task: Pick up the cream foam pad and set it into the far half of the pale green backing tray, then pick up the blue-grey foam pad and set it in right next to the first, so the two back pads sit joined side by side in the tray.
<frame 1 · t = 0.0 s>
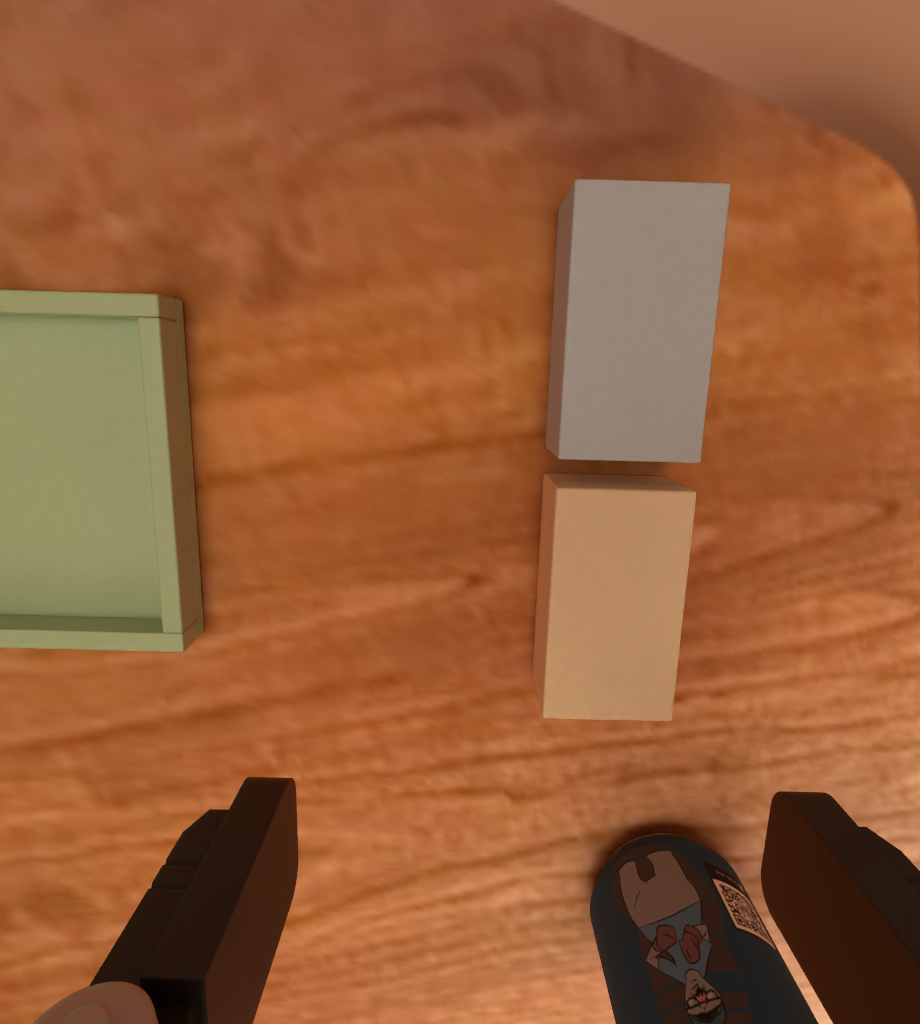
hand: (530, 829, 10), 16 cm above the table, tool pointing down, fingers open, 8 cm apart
blue-grey pad: (615, 334, 24), on the table
cream pad: (596, 579, 26), on the table
soda can: (656, 880, 30), on the table
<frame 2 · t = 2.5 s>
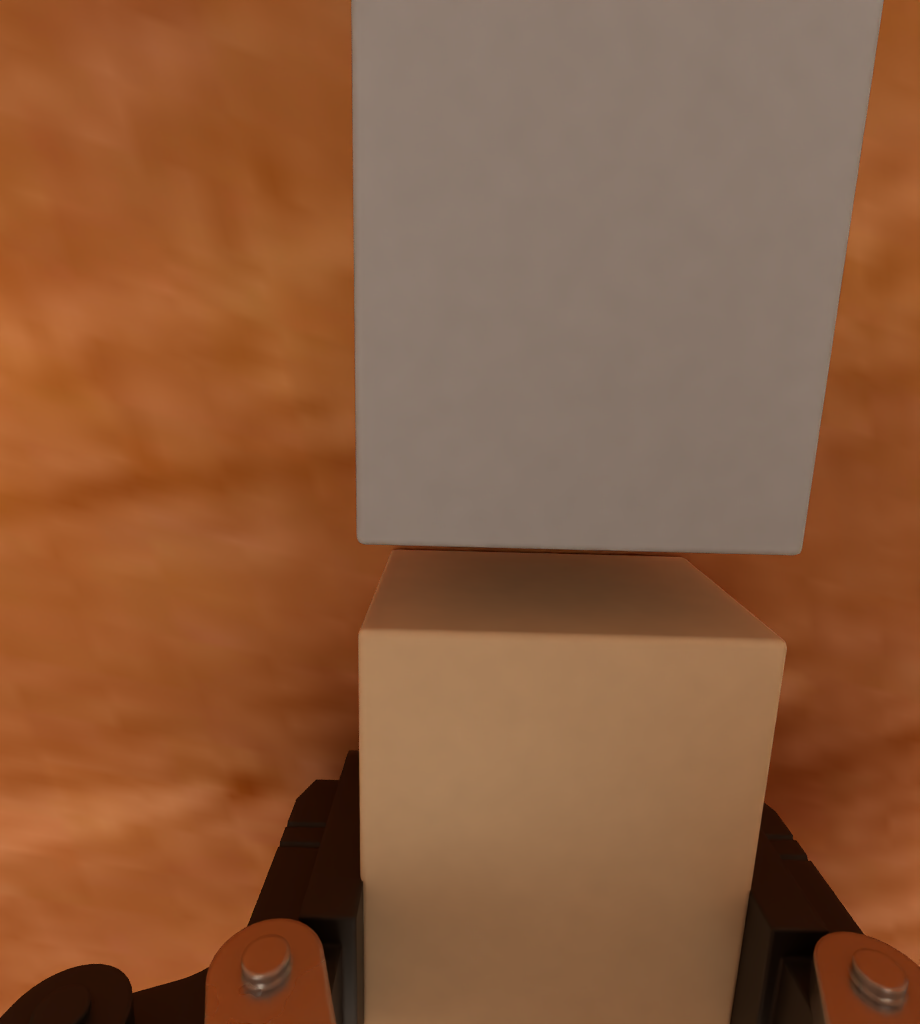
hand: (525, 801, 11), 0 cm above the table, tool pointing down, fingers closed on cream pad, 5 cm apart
blue-grey pad: (556, 199, 9), on the table
cream pad: (525, 785, 12), on the table, touching gripper
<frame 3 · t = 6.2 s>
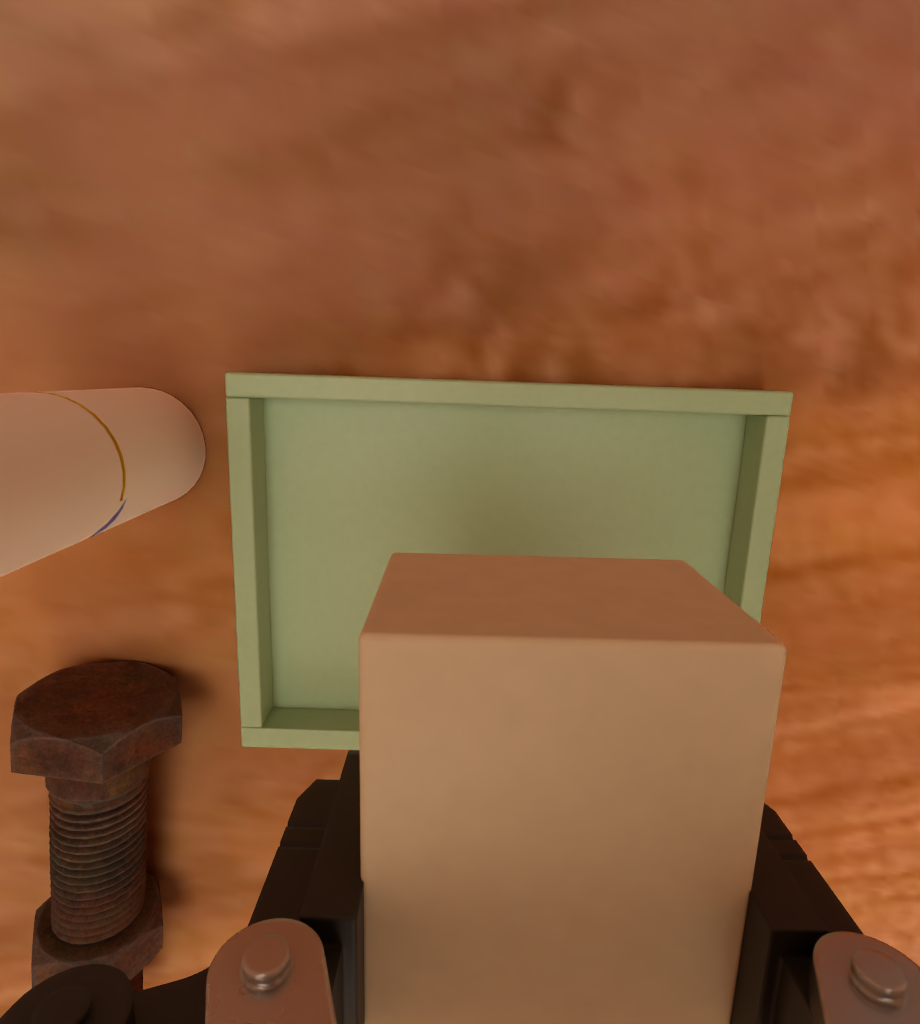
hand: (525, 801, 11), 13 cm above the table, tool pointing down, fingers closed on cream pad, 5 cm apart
bolt: (130, 820, 27), on the table
cream pad: (525, 788, 12), point 13 cm above the table, touching gripper
backing tray: (496, 563, 24), on the table
tube: (149, 446, 23), on the table
when the fingers open (1 cm above the table, at t = 9.7 s): cream pad stays where it is, resting on backing tray.
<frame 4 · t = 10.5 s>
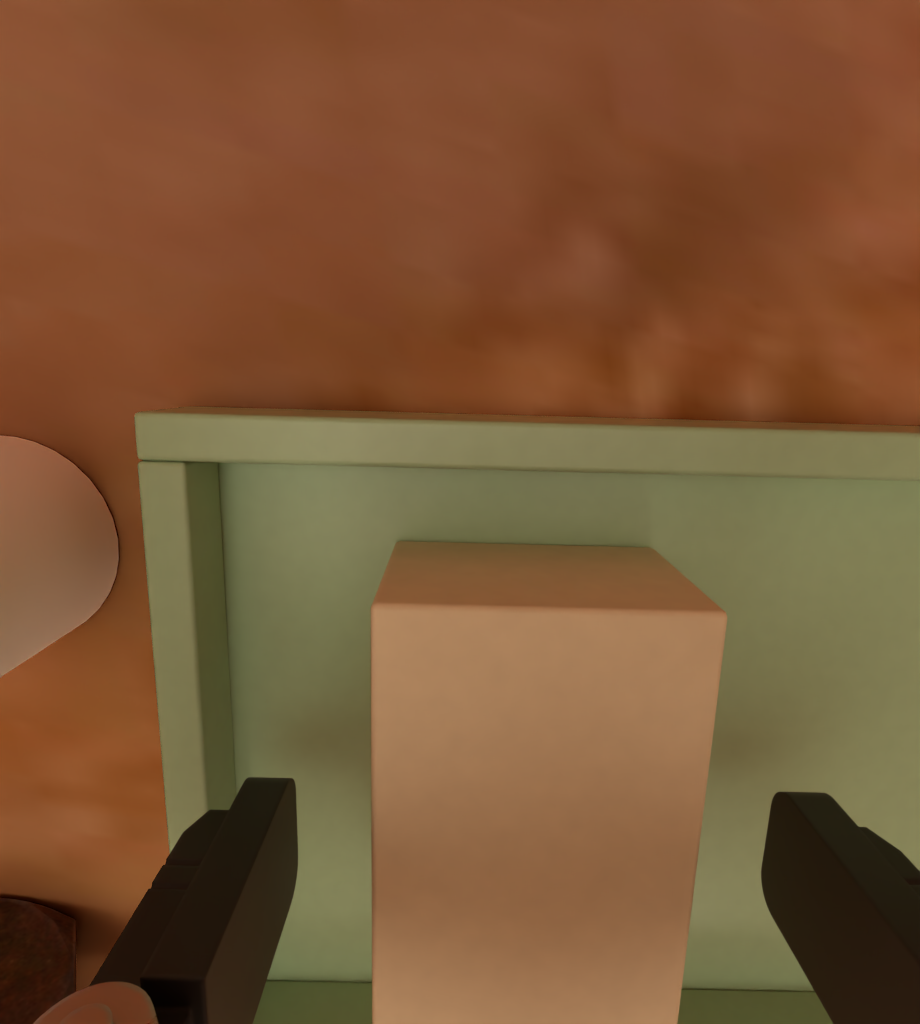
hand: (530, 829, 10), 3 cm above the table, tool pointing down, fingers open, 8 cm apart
cream pad: (514, 752, 13), point 1 cm above the table, touching backing tray
backing tray: (636, 734, 14), on the table
tube: (19, 538, 13), on the table
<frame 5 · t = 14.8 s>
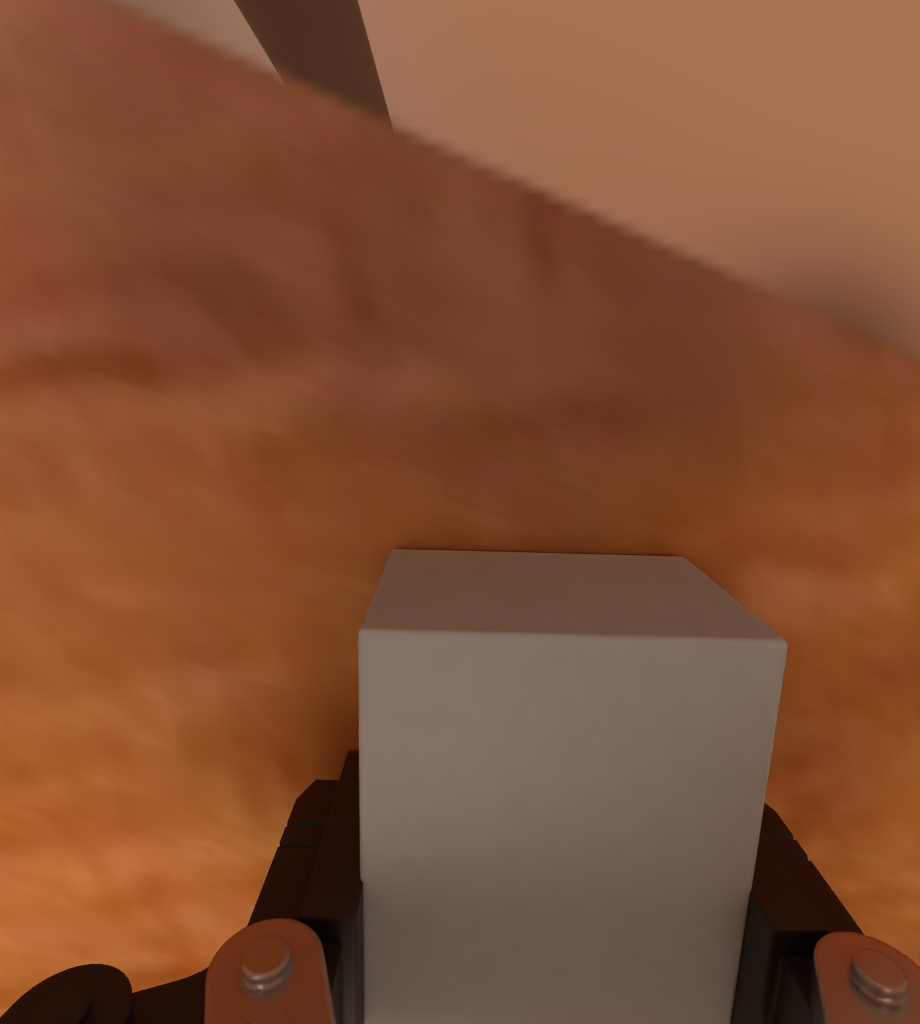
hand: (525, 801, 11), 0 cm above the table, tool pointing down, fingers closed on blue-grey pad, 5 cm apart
blue-grey pad: (525, 785, 12), on the table, touching gripper
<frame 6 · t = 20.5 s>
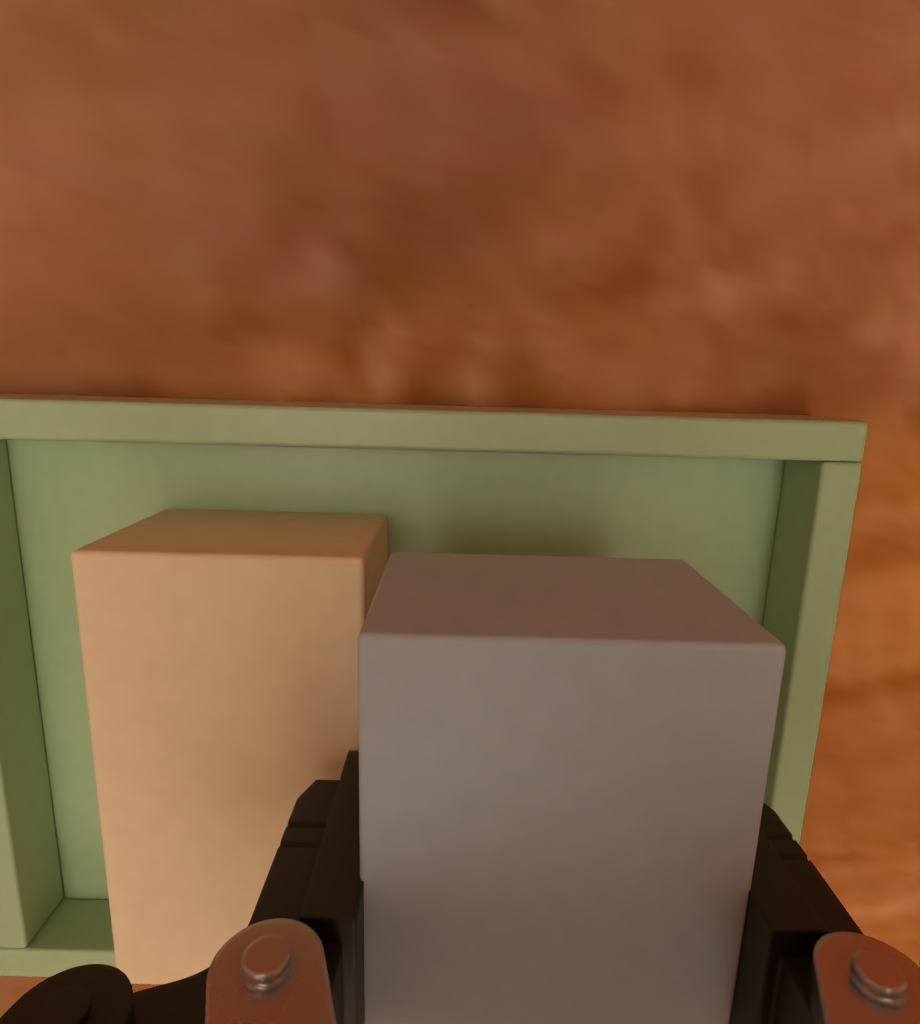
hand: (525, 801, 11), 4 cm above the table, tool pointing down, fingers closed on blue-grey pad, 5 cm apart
blue-grey pad: (524, 787, 12), point 4 cm above the table, touching gripper
cream pad: (282, 694, 15), point 1 cm above the table, touching backing tray
backing tray: (397, 681, 16), on the table
when the fingers open (5 cm above the table, at t = 27.1 s): blue-grey pad drops 4 cm, resting on backing tray.
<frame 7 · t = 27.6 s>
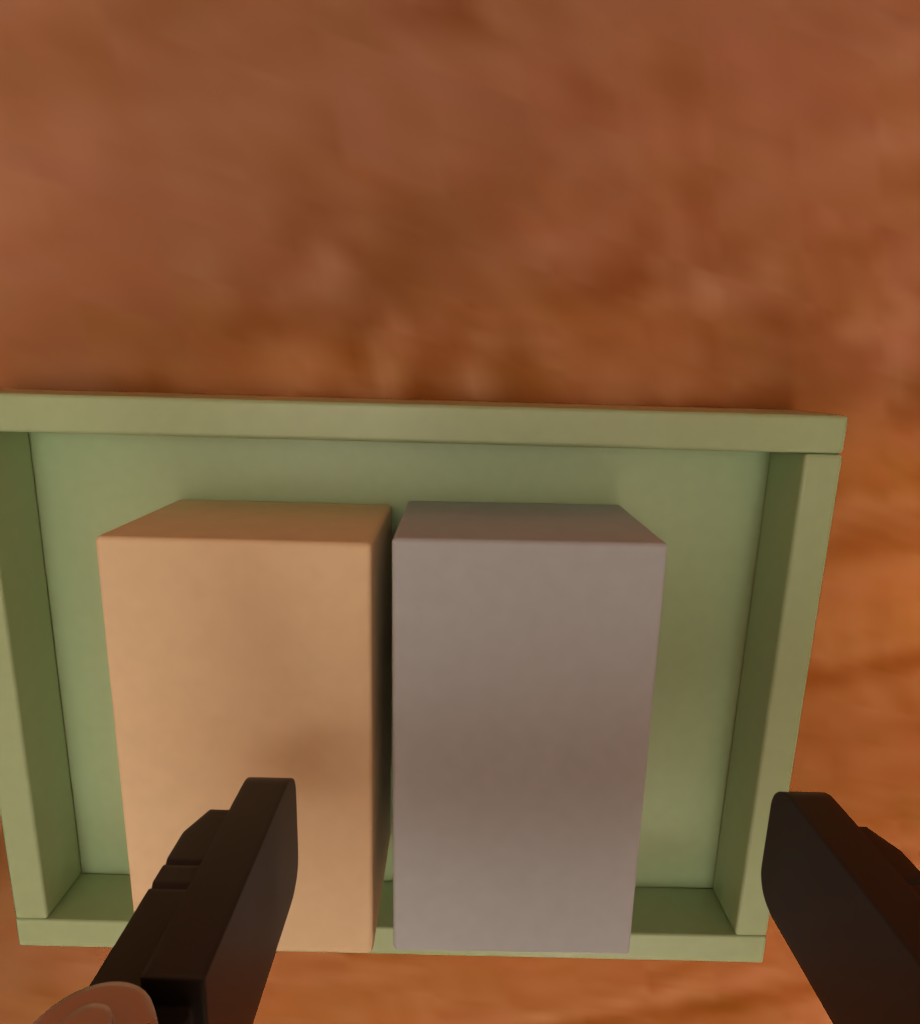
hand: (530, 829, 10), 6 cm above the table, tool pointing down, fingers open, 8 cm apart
blue-grey pad: (507, 678, 16), point 1 cm above the table, touching backing tray
cream pad: (291, 677, 16), point 1 cm above the table, touching backing tray
backing tray: (401, 665, 16), on the table
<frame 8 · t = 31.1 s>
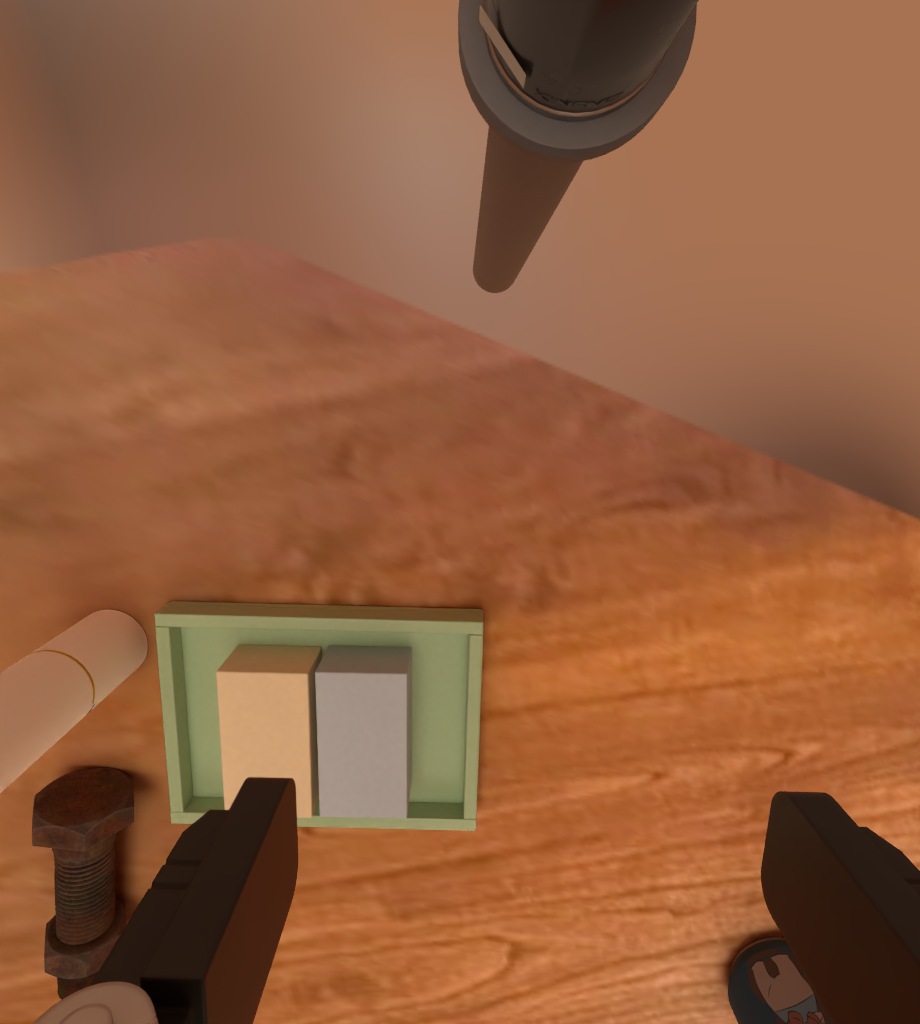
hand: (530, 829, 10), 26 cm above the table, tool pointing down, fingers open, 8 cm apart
blue-grey pad: (370, 714, 38), point 1 cm above the table, touching backing tray
bolt: (106, 865, 41), on the table
cream pad: (282, 713, 38), point 1 cm above the table, touching backing tray
backing tray: (328, 708, 39), on the table
tube: (114, 641, 38), on the table
soda can: (769, 967, 43), on the table
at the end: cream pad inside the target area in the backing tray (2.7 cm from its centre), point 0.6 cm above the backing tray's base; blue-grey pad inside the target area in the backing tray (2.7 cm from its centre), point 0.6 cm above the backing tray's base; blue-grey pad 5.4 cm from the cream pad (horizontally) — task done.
